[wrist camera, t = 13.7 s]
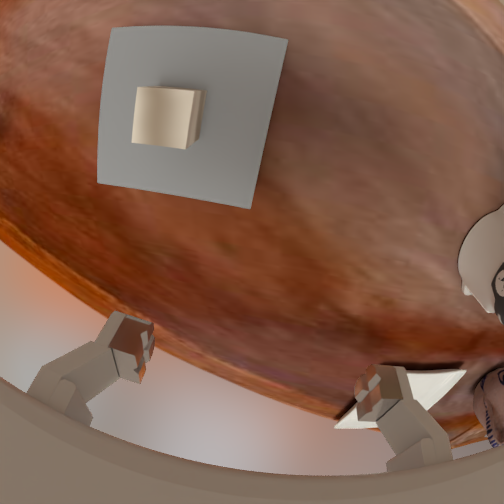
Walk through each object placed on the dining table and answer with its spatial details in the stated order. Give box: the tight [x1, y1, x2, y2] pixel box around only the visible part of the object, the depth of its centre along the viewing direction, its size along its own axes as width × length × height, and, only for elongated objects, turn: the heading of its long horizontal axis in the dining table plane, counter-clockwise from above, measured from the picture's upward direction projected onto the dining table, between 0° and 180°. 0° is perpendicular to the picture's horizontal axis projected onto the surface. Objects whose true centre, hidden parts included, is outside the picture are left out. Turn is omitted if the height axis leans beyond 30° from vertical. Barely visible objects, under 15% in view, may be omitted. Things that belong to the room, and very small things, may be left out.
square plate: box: [334, 369, 466, 429], centre depth 59 cm, size 27×27×4 cm
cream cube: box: [132, 86, 207, 149], centre depth 23 cm, size 5×5×5 cm
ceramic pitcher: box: [473, 368, 504, 448], centre depth 49 cm, size 18×21×25 cm
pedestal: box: [97, 26, 288, 209], centre depth 28 cm, size 18×18×6 cm
